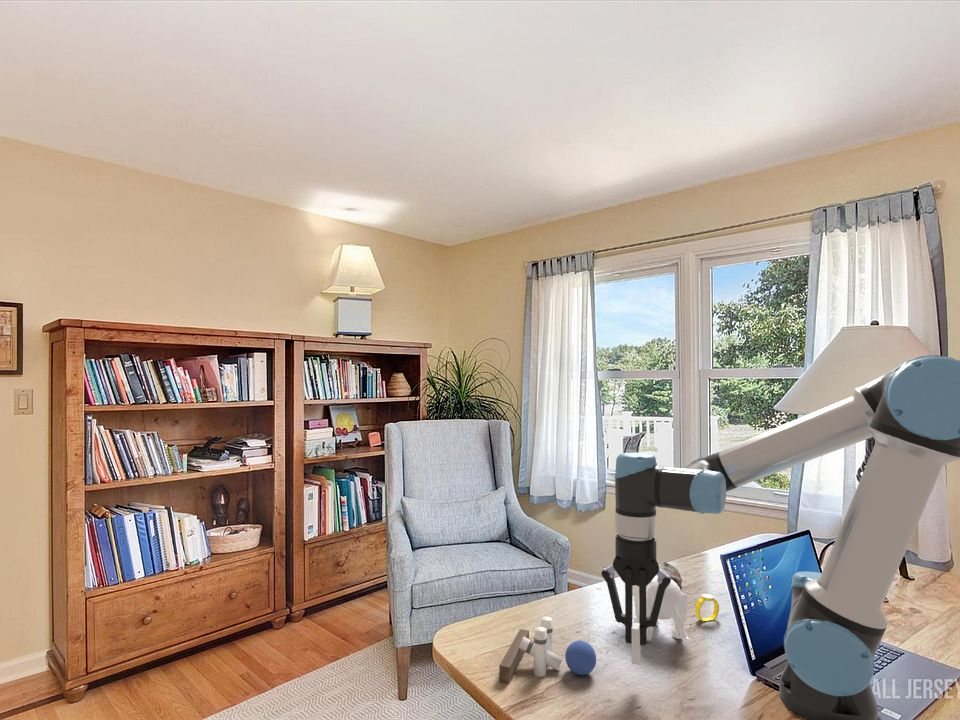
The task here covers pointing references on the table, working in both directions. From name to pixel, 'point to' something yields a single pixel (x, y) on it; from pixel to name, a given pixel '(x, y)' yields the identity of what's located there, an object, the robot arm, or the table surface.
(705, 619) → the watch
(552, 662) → the front pin
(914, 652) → the table surface
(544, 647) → the pin
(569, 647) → the ball
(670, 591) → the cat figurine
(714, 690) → the table surface
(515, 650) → the back wall
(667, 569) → the mineral rock
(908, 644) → the table surface
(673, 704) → the table surface
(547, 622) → the pin
